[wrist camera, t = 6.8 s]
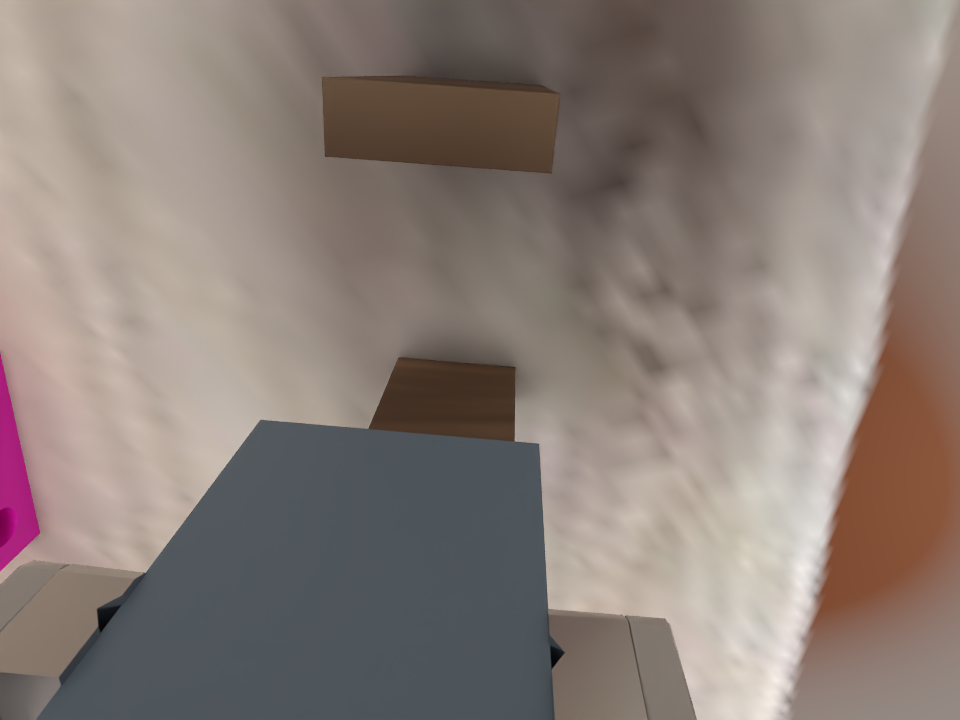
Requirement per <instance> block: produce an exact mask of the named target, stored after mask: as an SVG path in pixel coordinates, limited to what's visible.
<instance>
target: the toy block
mask: <svg viewBox="0 0 960 720" xmlns="http://www.w3.org/2000/svg"><path fill="white" fill-rule="evenodd" d="M39 534H40V531H39V526H38V522H37V517H36V513H35V508H34V504H33V499H32V495H31V490H30V486H29V481H28V476H27V472H26V467H25V463H24V458H23V454H22V449H21V445H20V440H19V436H18V431H17V427H16V422H15V418H14V413H13V409H12V404H11V400H10V395H9V391H8V386H7V382H6V377H5V373H4V368H3V364H2V359H1V355H0V571H1V570H2V569H3V568H4V567H5V566H6V565H7V564H8V563H9V562H10V561H11V560H12V559H13V558H15V557H16V556H17V555H18V554H19V553H20V552H21V551H22V550H23V549H24V548H25V547H26V546H27V545H28V544H29V543H30V542H31V541H32V540H33V539H34V538H35V537H36V536H37V535H39Z"/></svg>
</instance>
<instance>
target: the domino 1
mask: <svg viewBox="0 0 960 720" xmlns="http://www.w3.org/2000/svg"><path fill="white" fill-rule="evenodd" d="M146 573H147V574H146V575H145V576H144V578H143V579H142V580H141V582H140V583H139V584H138V586H137V587H136V588H135V590H134V591H133V592H132V594H131V595H130V596H129V598H128V599H127V600H126V602H125V603H124V604H123V605H121V607H120V608H119V609H118V611H117V612H116V613H115V615H114V616H113V617H112V619H111V620H110V621H109V623H108V624H107V625H106V627H105V628H104V629H103V631H102V632H101V635H100V637H99V638H98V639H97V641H96V642H95V643H94V645H93V646H92V647H91V648H90V650H89V651H88V652H87V654H86V655H85V656H84V658H83V659H82V660H81V662H80V663H79V664H78V666H77V667H76V668H75V670H74V671H73V672H72V673H71V675H70V676H69V677H68V679H67V680H66V681H65V683H64V684H63V685H62V687H60V688H59V689H58V691H57V692H56V693H55V695H54V696H53V697H52V699H51V700H50V701H49V703H48V704H47V705H46V707H45V708H44V709H43V711H42V712H41V713H40V715H39V716H38V717H37V719H36V720H553V715H552V698H551V681H550V677H551V654H550V645H549V643H548V620H547V610H548V599H547V581H546V562H545V544H544V526H543V507H542V489H541V471H540V452H539V444H536V443H524V442H512V441H501V440H489V439H477V438H466V437H454V436H442V435H431V434H419V433H407V432H396V431H384V430H372V429H361V428H349V427H337V426H326V425H314V424H302V423H291V422H279V421H267V420H260V421H259V423H258V424H257V425H256V427H255V428H254V429H253V431H252V432H251V433H250V435H249V436H248V437H247V439H246V440H245V441H244V443H243V444H242V445H241V447H240V448H239V449H238V451H237V452H236V453H235V455H234V456H233V457H232V459H231V460H230V461H229V463H228V464H227V465H226V467H225V468H224V469H223V471H222V472H221V473H220V475H219V476H218V477H217V479H216V480H215V481H214V483H213V484H212V485H211V487H210V488H209V489H208V491H207V492H206V493H205V495H204V496H203V497H202V499H201V500H200V501H199V503H198V504H197V505H196V507H195V508H194V509H193V511H192V512H191V513H190V515H189V516H188V517H187V519H186V520H185V521H184V523H183V524H182V525H181V527H180V528H179V529H178V531H177V532H176V533H175V535H174V536H173V537H172V539H171V540H170V541H169V543H168V544H167V545H166V547H165V548H164V549H163V551H162V552H161V553H160V555H159V556H158V557H157V559H156V560H155V561H154V563H153V564H152V565H151V567H150V568H149V569H148V571H147V572H146Z"/></svg>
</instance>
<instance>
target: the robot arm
mask: <svg viewBox="0 0 960 720" xmlns="http://www.w3.org/2000/svg"><path fill="white" fill-rule="evenodd" d="M146 574H147V573H144V572H135V571H127V570H118V569H110V568H102V567H93V566H85V565H76V564H71V565H70V564H62V563H53V562H45V561H36V560H33V561H31V562H29V563H26V564H24V565H22V566H19V567H18V568H17V569H16V570H15V571H14V572H13V573H12V574H11V575H10V576H9V577H8V578H7V579H6V580H5V581H4V582H3V583H2V584H1V585H0V720H36V719H37V717H38V716H39V715H40V713H41V712H42V711H43V709H44V708H45V707H46V705H47V704H48V703H49V701H50V700H51V699H52V697H53V696H54V695H55V693H56V692H57V691H58V689H59V688H60V687H62V685H63V684H64V683H65V681H66V680H67V679H68V677H69V676H70V675H71V673H72V672H73V671H74V670H75V668H76V667H77V666H78V664H79V663H80V662H81V660H82V659H83V658H84V656H85V655H86V654H87V652H88V651H89V650H90V648H91V647H92V646H93V645H94V643H95V642H96V641H97V639H98V638H99V637H100V635H101V632H102V631H103V629H104V628H105V627H106V625H107V624H108V623H109V621H110V620H111V619H112V617H113V616H114V615H115V613H116V612H117V611H118V609H119V608H120V607H121V605H123V604H124V603H125V602H126V600H127V599H128V598H129V596H130V595H131V594H132V592H133V591H134V590H135V588H136V587H137V586H138V584H139V583H140V582H141V580H142V579H143V578H144V576H145V575H146ZM547 620H548V643H549V645H550V654H551V677H550V681H551V698H552V715H553V720H697V718H696V715H695V711H694V708H693V704H692V701H691V697H690V693H689V690H688V686H687V683H686V679H685V676H684V672H683V669H682V665H681V662H680V658H679V654H678V651H677V647H676V644H675V640H674V637H673V633H672V630H671V626H670V624H669V623H668V622H667V621H666V619H663V618H651V617H639V616H627V615H626V616H625V617H624V616H623V615H615V614H603V613H590V612H578V611H566V610H554V609H548V610H547Z"/></svg>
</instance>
